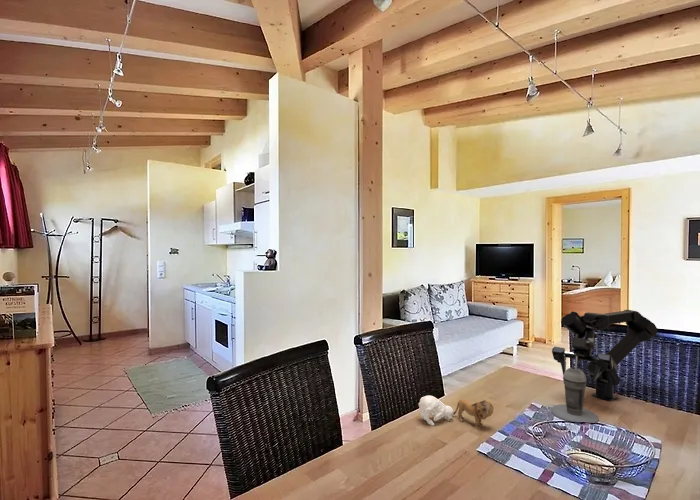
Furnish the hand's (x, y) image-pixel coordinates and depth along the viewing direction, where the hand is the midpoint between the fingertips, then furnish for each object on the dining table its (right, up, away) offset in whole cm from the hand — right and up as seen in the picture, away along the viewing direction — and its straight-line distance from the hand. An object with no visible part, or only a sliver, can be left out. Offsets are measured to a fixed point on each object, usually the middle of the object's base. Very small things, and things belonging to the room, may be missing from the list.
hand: (578, 378), depth 135 cm
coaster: (-4, -11, -4) cm, 13 cm away
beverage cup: (-4, -11, -4) cm, 12 cm away
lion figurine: (-41, -11, -11) cm, 44 cm away
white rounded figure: (-53, -11, -9) cm, 55 cm away
